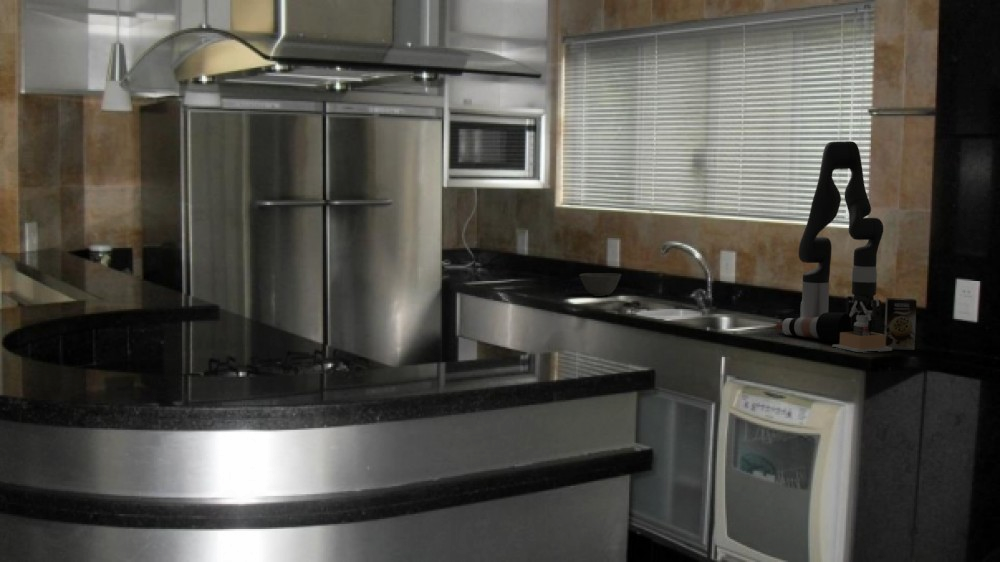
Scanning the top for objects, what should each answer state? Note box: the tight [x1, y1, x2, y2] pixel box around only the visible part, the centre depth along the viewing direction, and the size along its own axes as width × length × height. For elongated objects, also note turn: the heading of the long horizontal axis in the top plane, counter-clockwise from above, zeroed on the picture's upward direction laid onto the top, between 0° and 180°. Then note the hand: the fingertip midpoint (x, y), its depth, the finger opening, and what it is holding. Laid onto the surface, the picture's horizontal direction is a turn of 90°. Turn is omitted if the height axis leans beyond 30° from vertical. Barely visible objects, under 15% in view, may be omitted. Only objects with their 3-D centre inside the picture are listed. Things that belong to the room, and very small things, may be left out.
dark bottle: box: [775, 311, 854, 344], centre depth 410 cm, size 10×34×10 cm, turn 27°
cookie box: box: [883, 297, 918, 351], centre depth 389 cm, size 9×6×16 cm
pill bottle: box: [854, 314, 871, 336], centre depth 387 cm, size 5×5×10 cm
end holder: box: [832, 332, 893, 353], centre depth 387 cm, size 12×14×5 cm
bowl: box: [579, 272, 622, 296], centre depth 541 cm, size 19×19×10 cm
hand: (862, 330), depth 387 cm, fingers open, 8 cm apart
